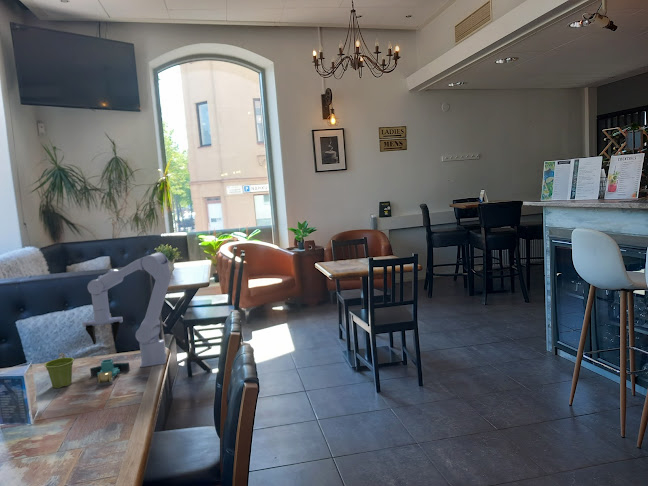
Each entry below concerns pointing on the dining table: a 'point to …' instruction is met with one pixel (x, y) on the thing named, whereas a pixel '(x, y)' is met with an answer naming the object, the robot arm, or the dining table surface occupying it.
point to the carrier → (108, 373)
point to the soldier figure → (62, 355)
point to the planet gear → (108, 367)
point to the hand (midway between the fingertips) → (105, 342)
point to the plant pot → (60, 371)
